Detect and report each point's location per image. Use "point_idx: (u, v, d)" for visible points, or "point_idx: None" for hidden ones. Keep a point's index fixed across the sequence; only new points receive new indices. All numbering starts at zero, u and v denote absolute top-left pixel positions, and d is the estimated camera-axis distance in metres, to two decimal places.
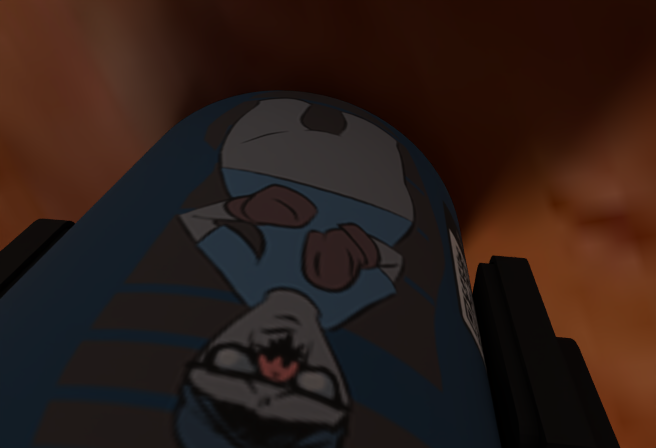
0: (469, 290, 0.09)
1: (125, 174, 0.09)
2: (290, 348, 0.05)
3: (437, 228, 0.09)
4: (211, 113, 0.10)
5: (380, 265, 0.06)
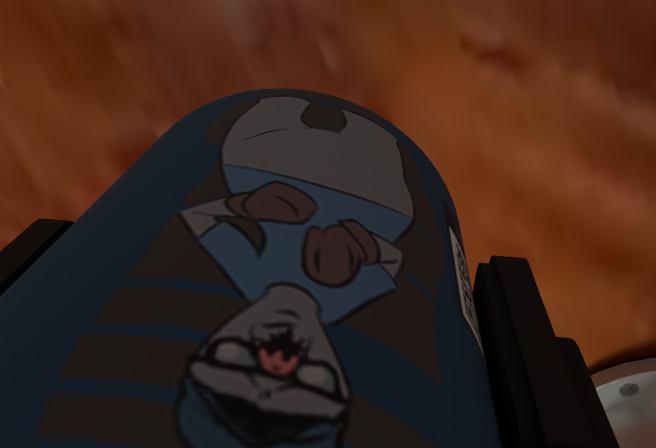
0: (469, 287, 0.09)
1: (126, 172, 0.09)
2: (290, 342, 0.05)
3: (437, 225, 0.09)
4: (212, 111, 0.10)
5: (380, 261, 0.06)
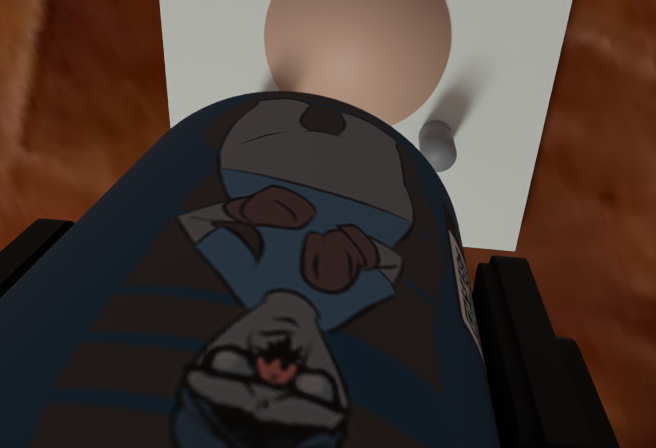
0: (469, 291, 0.09)
1: (124, 175, 0.09)
2: (289, 350, 0.05)
3: (437, 229, 0.09)
4: (210, 114, 0.10)
5: (380, 266, 0.06)
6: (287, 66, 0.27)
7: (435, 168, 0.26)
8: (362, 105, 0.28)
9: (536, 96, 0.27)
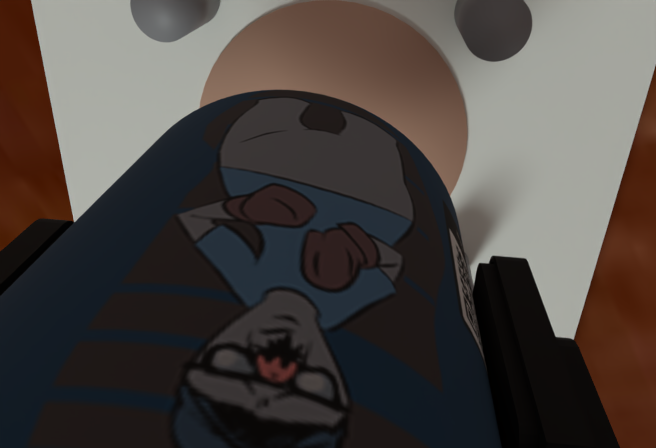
0: (469, 290, 0.09)
1: (123, 174, 0.09)
2: (289, 349, 0.05)
3: (437, 228, 0.09)
4: (210, 112, 0.10)
5: (380, 265, 0.06)
6: None
7: None
8: None
9: (590, 214, 0.19)
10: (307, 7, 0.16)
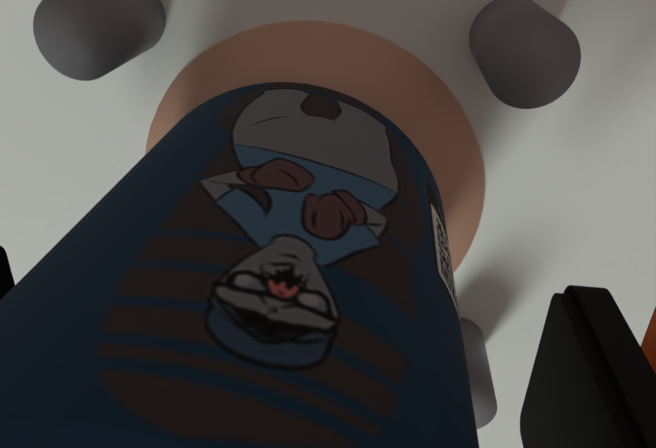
0: (447, 255, 0.10)
1: (146, 154, 0.10)
2: (291, 276, 0.06)
3: (419, 200, 0.10)
4: (221, 101, 0.11)
5: (367, 223, 0.08)
6: None
7: None
8: None
9: (637, 285, 0.15)
10: (278, 29, 0.13)
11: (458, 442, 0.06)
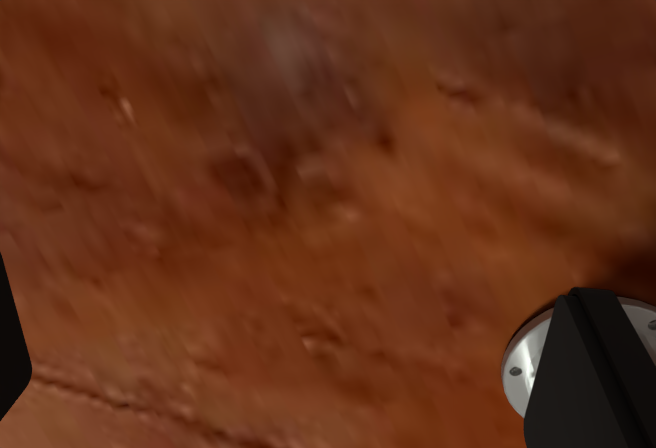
0: None
1: None
2: None
3: None
4: None
5: None
6: None
7: None
8: None
9: None
10: None
11: None
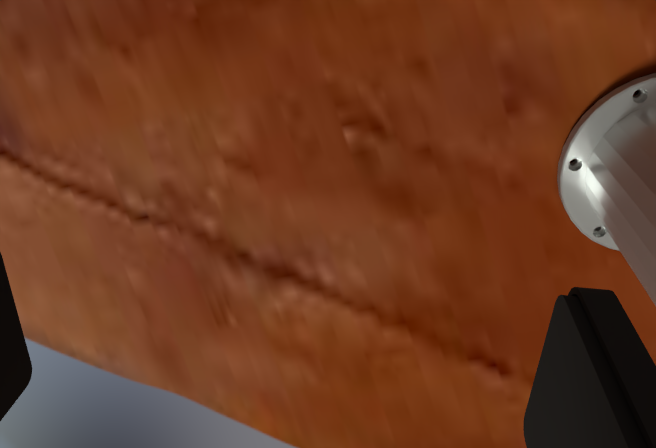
0: None
1: None
2: None
3: None
4: None
5: None
6: None
7: None
8: None
9: None
10: None
11: None
